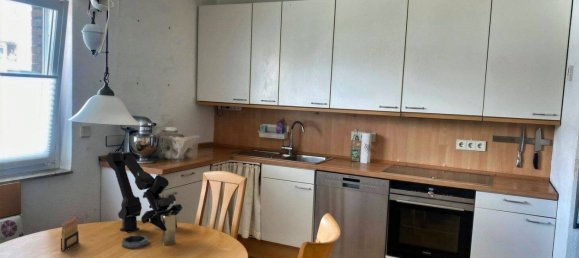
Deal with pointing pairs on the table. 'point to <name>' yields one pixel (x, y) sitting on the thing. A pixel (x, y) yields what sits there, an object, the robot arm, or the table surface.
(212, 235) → the table surface
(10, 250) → the table surface
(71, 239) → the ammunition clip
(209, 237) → the table surface
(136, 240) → the ring collar
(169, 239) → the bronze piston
